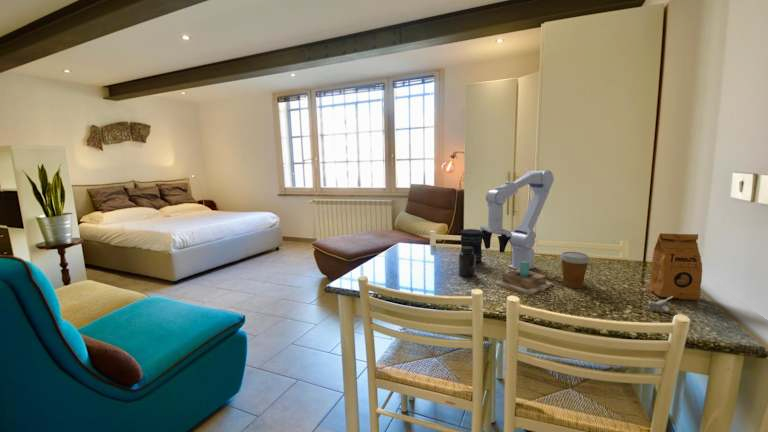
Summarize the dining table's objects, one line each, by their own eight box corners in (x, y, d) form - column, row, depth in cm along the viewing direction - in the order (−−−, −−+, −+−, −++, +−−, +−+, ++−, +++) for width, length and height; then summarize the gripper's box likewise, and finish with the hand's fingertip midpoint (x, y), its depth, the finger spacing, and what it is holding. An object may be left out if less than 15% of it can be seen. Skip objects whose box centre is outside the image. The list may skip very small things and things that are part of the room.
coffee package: (703, 304, 110) (712, 237, 106) (657, 299, 114) (664, 235, 110) (688, 292, 119) (695, 231, 115) (645, 289, 123) (651, 229, 119)
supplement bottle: (475, 277, 139) (476, 249, 137) (458, 277, 141) (459, 249, 139) (474, 272, 146) (474, 245, 144) (458, 272, 147) (458, 245, 145)
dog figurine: (652, 315, 108) (640, 301, 108) (677, 302, 105) (665, 288, 106) (657, 320, 105) (645, 305, 105) (683, 306, 102) (671, 291, 103)
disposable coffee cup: (576, 292, 122) (579, 259, 120) (553, 283, 130) (554, 253, 129) (593, 286, 126) (595, 255, 124) (569, 279, 135) (570, 250, 133)
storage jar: (484, 264, 156) (485, 233, 154) (462, 265, 156) (463, 233, 154) (478, 258, 166) (479, 228, 164) (458, 259, 166) (458, 229, 164)
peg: (522, 280, 132) (523, 260, 131) (530, 282, 130) (531, 262, 128) (517, 282, 131) (518, 261, 129) (525, 284, 128) (526, 263, 127)
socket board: (521, 275, 140) (521, 266, 140) (553, 285, 129) (554, 275, 128) (495, 283, 132) (495, 274, 131) (527, 295, 120) (527, 284, 120)
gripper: (475, 217, 145) (474, 248, 147) (503, 222, 133) (502, 255, 135) (486, 215, 149) (486, 245, 151) (515, 220, 137) (513, 252, 139)
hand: (494, 250), depth 143 cm, fingers open, 7 cm apart
